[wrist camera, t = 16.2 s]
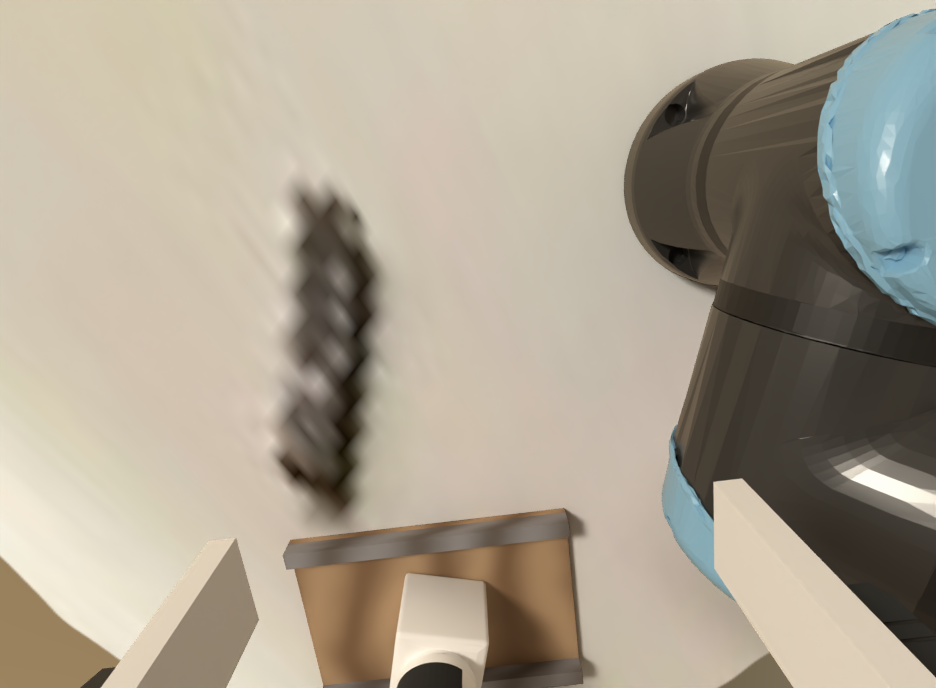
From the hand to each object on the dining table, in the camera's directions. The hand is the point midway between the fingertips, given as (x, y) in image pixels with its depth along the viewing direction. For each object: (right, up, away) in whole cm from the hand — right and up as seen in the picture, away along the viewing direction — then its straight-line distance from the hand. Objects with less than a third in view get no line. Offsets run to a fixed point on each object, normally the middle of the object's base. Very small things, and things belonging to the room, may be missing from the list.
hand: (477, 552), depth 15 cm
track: (-3, -18, +35) cm, 39 cm away
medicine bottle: (-3, -18, +34) cm, 39 cm away
